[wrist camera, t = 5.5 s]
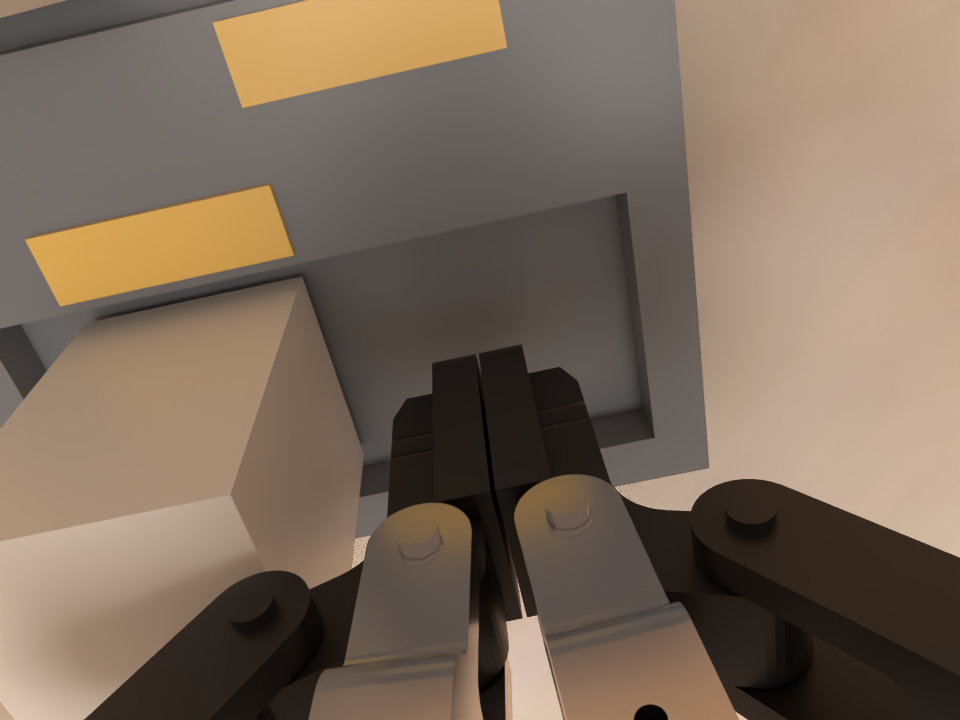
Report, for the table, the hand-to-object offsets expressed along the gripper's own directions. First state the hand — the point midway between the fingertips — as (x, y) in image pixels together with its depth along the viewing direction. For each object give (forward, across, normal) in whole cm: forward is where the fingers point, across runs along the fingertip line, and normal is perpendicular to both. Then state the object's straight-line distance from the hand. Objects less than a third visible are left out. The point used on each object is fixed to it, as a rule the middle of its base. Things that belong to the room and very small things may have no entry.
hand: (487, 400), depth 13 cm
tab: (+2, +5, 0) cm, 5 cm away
